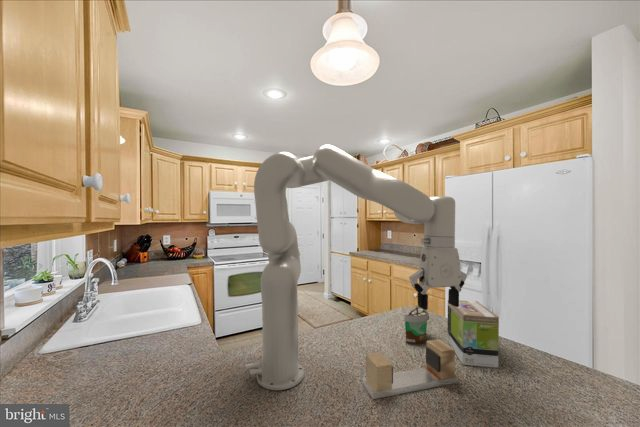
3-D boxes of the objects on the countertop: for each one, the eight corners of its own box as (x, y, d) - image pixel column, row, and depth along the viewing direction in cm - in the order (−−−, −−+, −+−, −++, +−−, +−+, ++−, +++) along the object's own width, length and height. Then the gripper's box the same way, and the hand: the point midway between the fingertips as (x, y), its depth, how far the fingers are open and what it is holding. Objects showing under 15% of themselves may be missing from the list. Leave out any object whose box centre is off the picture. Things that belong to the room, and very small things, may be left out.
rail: (373, 399, 64) (372, 367, 64) (362, 383, 70) (362, 354, 70) (457, 382, 71) (457, 353, 71) (441, 369, 76) (441, 343, 76)
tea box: (500, 368, 77) (500, 316, 77) (462, 365, 79) (462, 314, 79) (478, 343, 92) (478, 300, 92) (446, 341, 93) (446, 298, 93)
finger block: (439, 379, 69) (439, 351, 69) (424, 366, 75) (424, 341, 75) (454, 376, 70) (454, 349, 70) (438, 364, 76) (438, 339, 76)
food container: (423, 350, 87) (423, 319, 87) (404, 344, 91) (404, 314, 91) (433, 336, 97) (433, 308, 97) (416, 331, 101) (416, 305, 101)
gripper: (419, 244, 67) (418, 314, 67) (476, 243, 71) (476, 308, 71) (402, 241, 74) (402, 304, 74) (455, 240, 79) (454, 300, 79)
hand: (438, 306), depth 73 cm, fingers open, 9 cm apart
